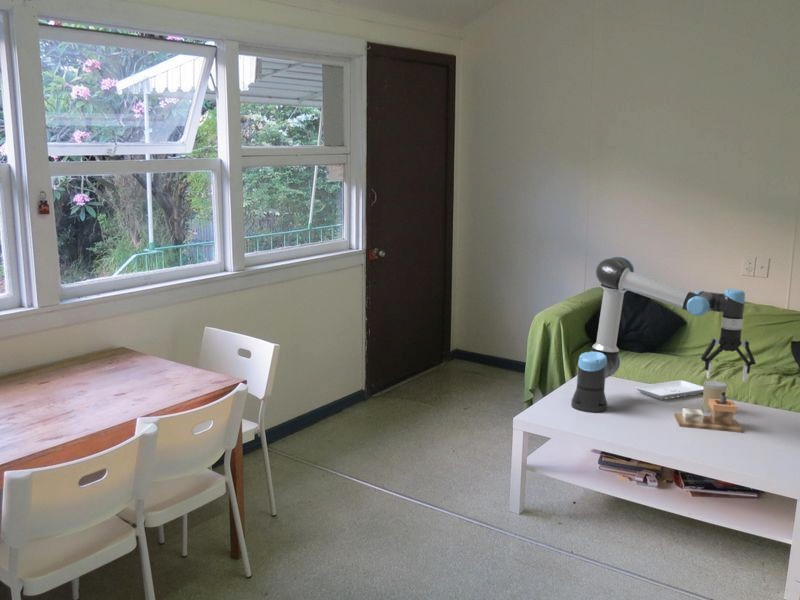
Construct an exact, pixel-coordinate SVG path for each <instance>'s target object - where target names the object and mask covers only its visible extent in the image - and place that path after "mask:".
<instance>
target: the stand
mask: <svg viewBox="0 0 800 600" xmlns="http://www.w3.org/2000/svg"><path fill="white" fill-rule="evenodd" d="M727 398H728V396H726V395H725V396H720V404H724V405H726V400H728V399H727ZM681 411H682V412H681V413H680V412H679V413H678V412H675V413H674V414H673V415H674V416H673V417H674V418H675V421H676V422H677V423H676V424H678V426H679V427H682V428H692V429H693V428H694V429H703V430H712V431H713V430H715V431H724V432H732V433H733V432H735V433H744V429H743V427H742V426H741V425H740V423H738V421H737V420H736V418H734V412H723V411H713V410H712V409H711V412H709V413H710V414H709V415H710V416H709V415H704V412H703V411H702V410H701V409H696V408H684V407H682V410H681Z"/></svg>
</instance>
